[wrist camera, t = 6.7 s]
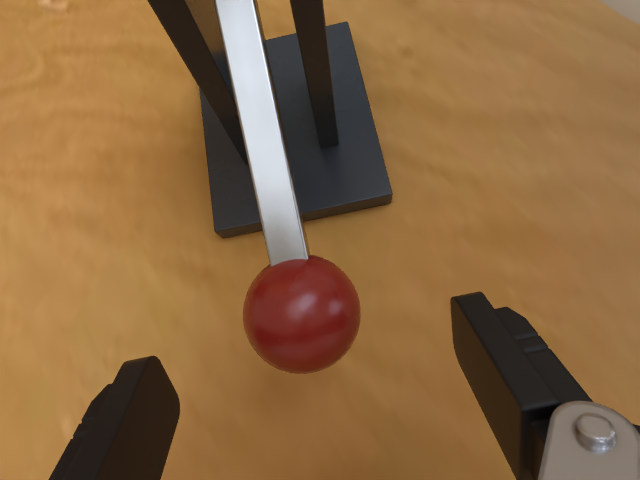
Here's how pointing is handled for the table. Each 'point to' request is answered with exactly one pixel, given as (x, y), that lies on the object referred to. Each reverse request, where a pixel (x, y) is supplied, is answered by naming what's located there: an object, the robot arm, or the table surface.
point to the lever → (282, 221)
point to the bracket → (285, 115)
